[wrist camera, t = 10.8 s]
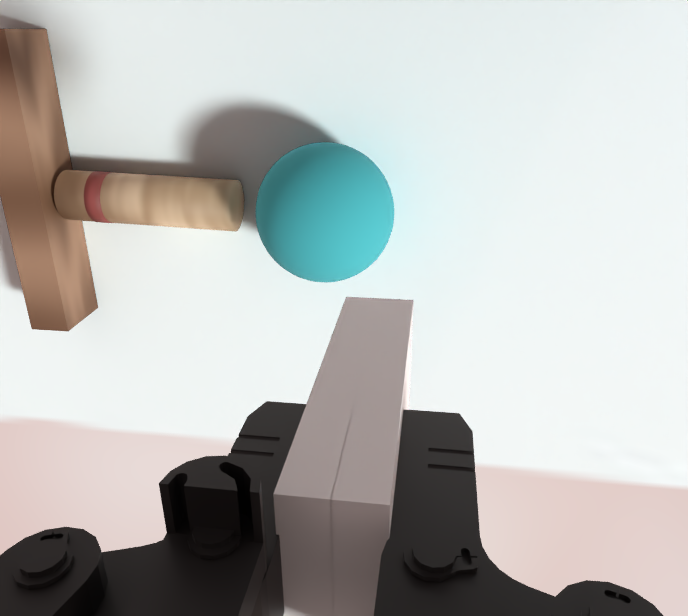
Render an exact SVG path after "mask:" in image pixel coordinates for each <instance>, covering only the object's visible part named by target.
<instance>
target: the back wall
mask: <svg viewBox="0 0 688 616" xmlns="http://www.w3.org/2000/svg"><path fill="white" fill-rule="evenodd" d="M64 170H72V165H71V160H70V154H69V149H68V144H67V138H66V133H65V127H64V122H63V117H62V111H61V106H60V100H59V95H58V90H57V84H56V79H55V74H54V68H53V63H52V57H51V52H50V47H49V41H48V36H47V31H46V29H0V196H1V201H2V205H3V209H4V213H5V218H6V222H7V226H8V230H9V234H10V239H11V243H12V247H13V251H14V256H15V260H16V264H17V268H18V272H19V277H20V281H21V285H22V289H23V294H24V298H25V302H26V306H27V310H28V315H29V319H30V323H31V327H32V329H39V330H55V331H69V330H70V329H72V328H73V327H74V326H75V325H77V324H78V323H79V322H80V321H82V320H83V319H84V318H85V317H87V316H88V315H89V314H90V313H92V312H93V311H94V310H96V309H97V308H98V305H97V300H96V294H95V289H94V283H93V278H92V273H91V267H90V262H89V256H88V251H87V246H86V240H85V235H84V230H83V224H82V220H68V219H65V218H63V217H62V216H61V215H60V214H59V212H58V210H57V208H56V205H55V200H54V187H55V183H56V180H57V177H58V176H59V174H60V173H61V172H62V171H64Z"/></svg>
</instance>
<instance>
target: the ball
mask: <svg viewBox="0 0 688 616" xmlns="http://www.w3.org/2000/svg"><path fill="white" fill-rule="evenodd" d="M393 221H394V203H393V197H392V194H391V190H390V188H389V185H388V183H387V181H386V179H385V177H384V175H383V174H382V172H381V171H380V169H379V168H378V167H377V166H376V165H375V164H374V162H372V161H371V160H370V159H369V158H368V157H367V156H365V155H364V154H363V153H361V152H359V151H357V150H355V149H353V148H351V147H349V146H346V145H342V144H338V143H331V142H319V143H311V144H307V145H304V146H300V147H298V148H296V149H294V150H292V151H290V152H288V153H287V154H285V155H284V156H282V157H281V158H280V159H279V160H278V161H277V162H276V163H275V164H274V165H273V166H272V167H271V169H270V170H269V171H268V173H267V174H266V176H265V178H264V180H263V182H262V184H261V186H260V189H259V192H258V196H257V201H256V223H257V228H258V232H259V235H260V238H261V240H262V242H263V245H264V246H265V248H266V250H267V251H268V253H269V254H270V255H271V257H272V258H273V259H274V260H275V261H276V262H277V263H278V264H279V265H280V266H281V267H283V268H284V269H285V270H287V271H289V272H290V273H292V274H293V275H296V276H298V277H300V278H303V279H306V280H310V281H315V282H335V281H340V280H344V279H347V278H350V277H352V276H355V275H357V274H359V273H360V272H362V271H363V270H365V269H366V268H368V267H369V266H370V265H371V264H372V263H373V262H374V261H375V260H376V259H377V258H378V257H379V255H380V254H381V253H382V251H383V250H384V248H385V246H386V244H387V243H388V240H389V237H390V235H391V232H392V228H393Z"/></svg>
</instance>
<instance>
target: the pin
mask: <svg viewBox="0 0 688 616" xmlns="http://www.w3.org/2000/svg"><path fill="white" fill-rule="evenodd" d="M54 200H55V205H56V208H57V210H58V212H59V214H60V215H61V216H62V217H63V218H65V219H68V220H82V221H95V222H104V223H124V224H139V225H153V226H167V227H181V228H195V229H209V230H224V231H237V230H238V229H239V228H240V225H241V222H242V218H243V212H244V194H243V189H242V185H241V183H240V181H239V180H228V179H212V178H195V177H179V176H162V175H145V174H129V173H114V172H103V171H79V170H64V171H62V172H61V173H60V174H59V176H58V177H57V180H56V183H55V187H54Z"/></svg>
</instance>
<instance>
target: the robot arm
mask: <svg viewBox="0 0 688 616" xmlns="http://www.w3.org/2000/svg"><path fill="white" fill-rule="evenodd" d="M412 323H413V300H400V299H379V298H359V297H346V299H345V302H344V304H343V307H342V310H341V313H340V315H339V318H338V321H337V323H336V326H335V329H334V331H333V334H332V337H331V340H330V342H329V345H328V348H327V350H326V353H325V356H324V358H323V361H322V364H321V367H320V369H319V372H318V375H317V377H316V380H315V383H314V386H313V388H312V391H311V394H310V396H309V399H308V402H307V404H296V403H282V402H269V401H267V402H265V403H264V404H263V405H262V406H260V407H259V408H258V409H257V410H255V411H254V412H253V413H251V414H250V415H249V416H248V417H247V419H246V421H245V423H244V425H243V427H242V429H241V431H240V433H239V438H237V439H236V441H235V443H234V445H233V447H232V449H231V453H229V455H228V456H206V457H203V458H199V459H195V460H192V461H188V462H186V463H184V464H182V465H180V466H179V467H177V468H175V469H173V470H172V471H170V472H169V473H168V474H167V475H166V477H164V479H163V480H162V481H161V482H160V483H159V487H160V493H161V499H162V505H163V512H164V518H165V524H166V530H167V534H166V536H165V538H164V540H162V541H159V542H157V543H153V544H150V545H145V546H141V547H134V548H128V549H122V550H115V551H108V552H101V549H100V546H99V544H98V541H97V539H96V537H95V536H93V535H92V534H90V533H88V532H87V531H85V530H84V529H77V528H70V527H62V528H55V529H49V530H44V531H42V532H39V533H37V534H34V535H32V536H29V537H26V538H24V539H23V540H21V541H20V542H18V543H17V544H15V545H14V546H12V547H11V548H9V549H8V550H6V551H5V552H4V553H3V554H2V555H0V616H663V615H662V614H661V613H660V612H659V610H658V609H657V608H656V607H655V606H654V605H653V604H652V603H650V602H649V601H647V600H646V599H644V598H643V597H641V596H640V595H638V594H636V593H635V592H633V591H632V590H629V589H626V588H624V587H620V586H618V585H615V584H612V583H610V582H600V581H587V580H586V581H583V582H579V583H575V584H572V585H568V586H567V587H566V588H565V589H563V590H562V591H561V592H560V593H559V594H558V595H557V596H556V597H554V596H552V595H549V594H547V593H544V592H541V591H539V590H536V589H533V588H531V587H528V586H526V585H524V584H522V583H520V582H518V581H516V580H514V579H512V578H511V577H509V576H508V575H506V574H505V573H504V572H502V571H501V570H499V569H498V568H497V566H496V565H495V564H494V563H493V562H492V561H491V560H490V559H489V558H488V556H487V554H486V552H485V550H484V549H483V547H482V543H481V539H480V533H479V519H478V504H477V491H476V477H475V462H474V448H473V434H472V430H471V429H470V428H469V426H468V425H467V423H466V422H465V421H464V419H463V418H462V417H461V415H460V414H459V413H445V412H431V411H418V410H409V399H410V374H411V348H412Z"/></svg>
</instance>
